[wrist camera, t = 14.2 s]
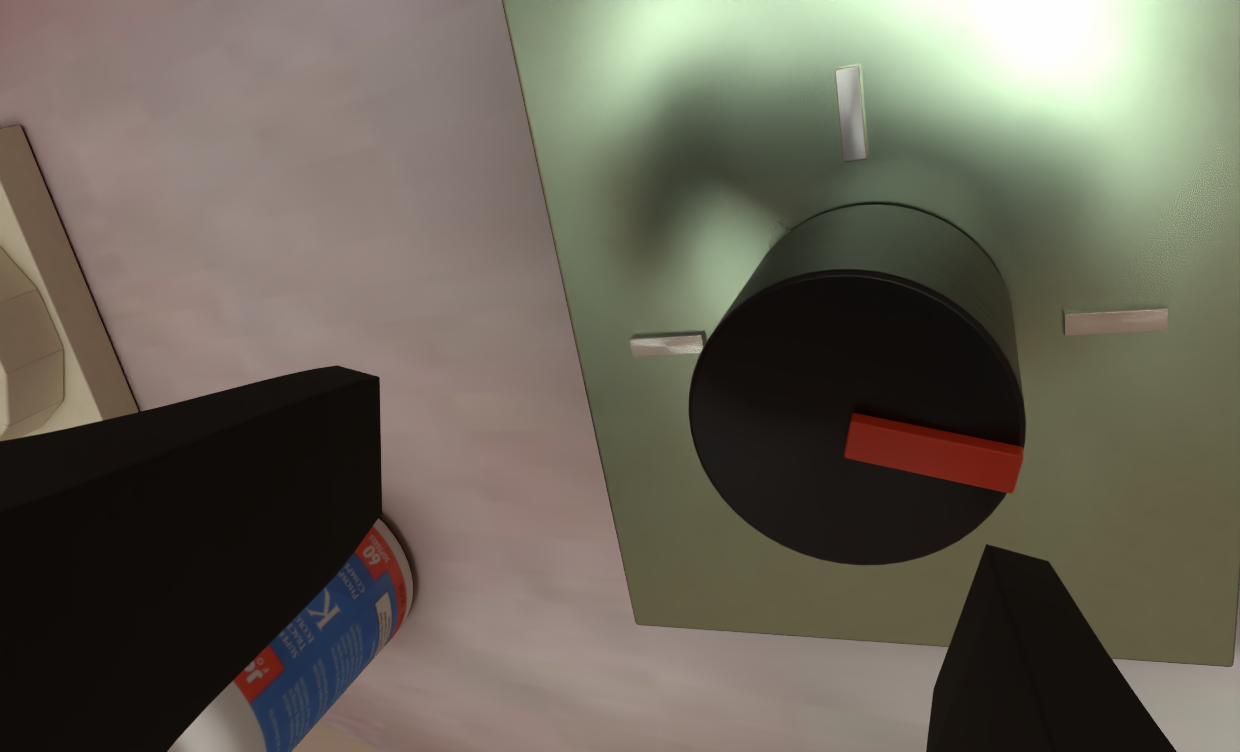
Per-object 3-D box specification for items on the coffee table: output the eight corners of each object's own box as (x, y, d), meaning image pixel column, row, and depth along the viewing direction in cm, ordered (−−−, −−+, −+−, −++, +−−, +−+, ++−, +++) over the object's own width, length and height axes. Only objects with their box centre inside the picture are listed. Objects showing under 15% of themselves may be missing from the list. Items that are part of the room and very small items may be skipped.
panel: (565, -20, 17) (491, -16, 15) (1236, -171, 13) (1305, -204, 11) (673, 548, 22) (632, 630, 19) (1196, 567, 18) (1237, 675, 15)
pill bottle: (431, 524, 24) (153, 817, 16) (406, 660, 27) (155, 973, 19) (263, 447, 25) (-81, 685, 17) (255, 585, 28) (-48, 851, 20)
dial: (729, 420, 17) (668, 536, 13) (757, 185, 15) (696, 252, 11) (978, 473, 15) (981, 615, 12) (1046, 225, 14) (1072, 312, 10)
